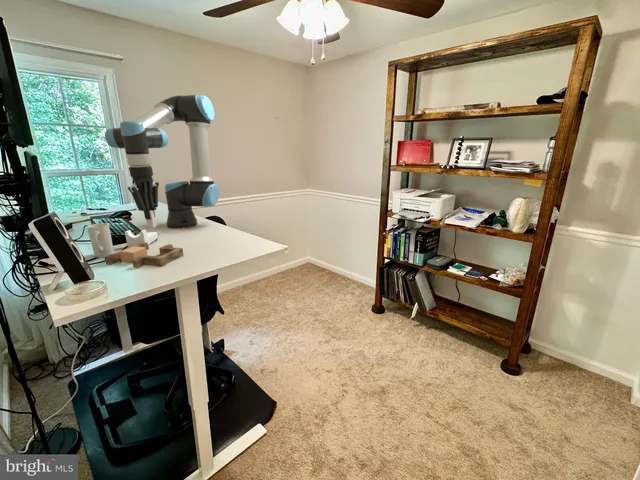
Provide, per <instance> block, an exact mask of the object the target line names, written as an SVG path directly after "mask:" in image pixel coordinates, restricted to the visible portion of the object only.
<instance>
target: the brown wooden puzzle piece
mask: <svg viewBox="0 0 640 480" xmlns="http://www.w3.org/2000/svg"><path fill="white" fill-rule="evenodd" d="M173 246H174V245H173V244H171V243H170V244H169V243H168V244H166V245H163V246H161V247H158V250H159V256H158V255H157V256H155V255H148V254H147V255H142V256H139V257H137V258H135V259H132V267H133V268H134V269H140V268H141V267H144V266H149V267H159V268H163V267H164V266H166V265H168V264H169V263H171V262H173V261H176V260H178V259H179V258H181V257H184V251H183V250H184V249H183V248H182V247H173ZM132 247H133V246H132ZM135 247H146V250H147V251H148V250H149V249H150V248H149V245H148V242H142V243H140V244H137V245H135ZM129 248H130V247H129ZM125 249H126V248H124V249H121V250H119V251H117V252H116V251H115V252H114V253H113V254H111V255H108V256H105V257H103V259H104V261H105V265H106V266H112V265H115V264H116V263H119V262H122V260H121V255H120V251H122V250H125Z"/></svg>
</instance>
